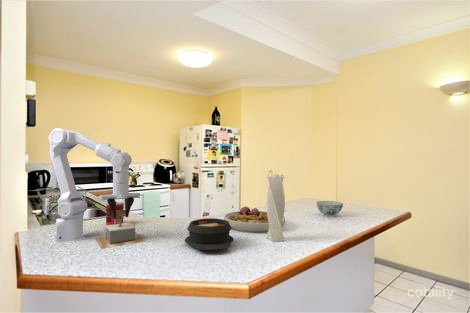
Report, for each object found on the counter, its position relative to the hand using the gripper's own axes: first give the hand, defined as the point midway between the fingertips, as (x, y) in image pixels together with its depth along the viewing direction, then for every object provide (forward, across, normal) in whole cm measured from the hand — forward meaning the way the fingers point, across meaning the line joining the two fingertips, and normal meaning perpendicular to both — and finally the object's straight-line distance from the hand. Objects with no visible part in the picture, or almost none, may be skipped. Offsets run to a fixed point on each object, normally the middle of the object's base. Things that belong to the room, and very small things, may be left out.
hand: (120, 217), depth 105 cm
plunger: (+6, 0, 0) cm, 6 cm away
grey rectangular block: (+9, 0, 0) cm, 9 cm away
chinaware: (+10, +113, -16) cm, 115 cm away
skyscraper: (+10, +52, -33) cm, 62 cm away
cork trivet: (+9, 0, 0) cm, 9 cm away
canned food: (+9, +4, +29) cm, 31 cm away
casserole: (+10, +27, -23) cm, 37 cm away
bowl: (+10, +60, -10) cm, 62 cm away
